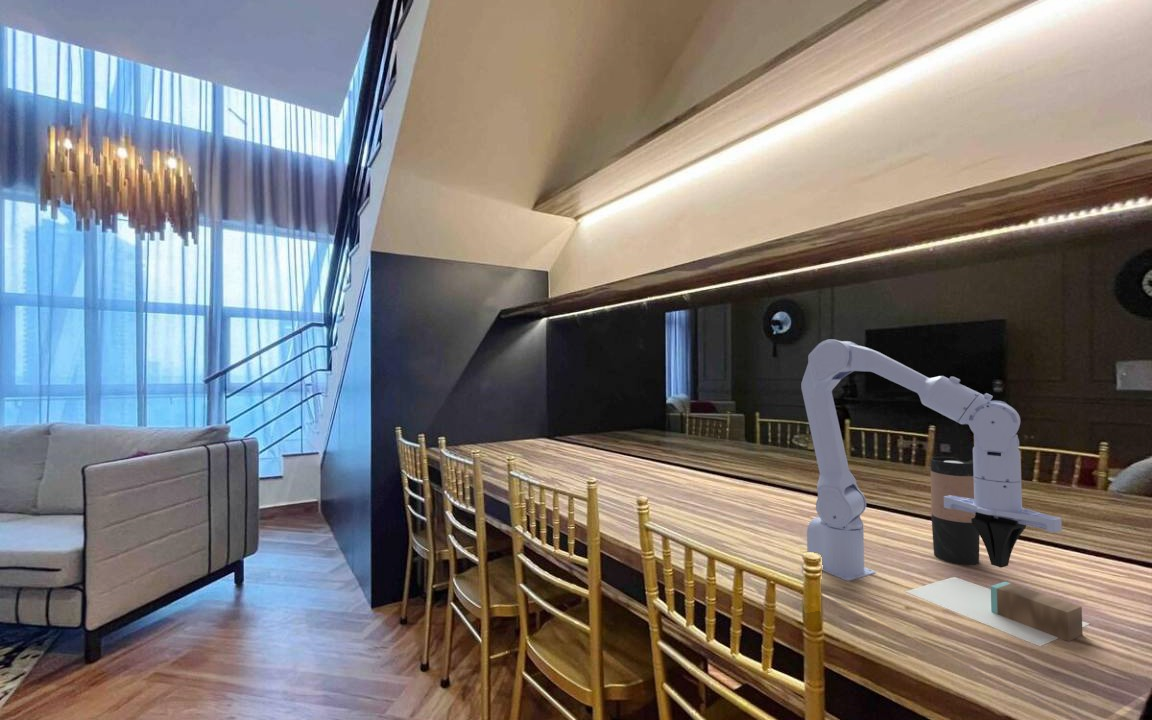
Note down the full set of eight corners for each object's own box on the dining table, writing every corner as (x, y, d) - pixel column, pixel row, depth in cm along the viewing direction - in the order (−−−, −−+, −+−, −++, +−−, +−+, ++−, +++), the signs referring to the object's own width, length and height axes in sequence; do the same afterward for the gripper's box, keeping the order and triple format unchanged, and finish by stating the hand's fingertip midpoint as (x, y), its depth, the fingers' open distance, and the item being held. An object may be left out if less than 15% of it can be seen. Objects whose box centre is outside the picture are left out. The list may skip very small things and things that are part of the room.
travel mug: (939, 564, 94) (936, 462, 95) (927, 551, 101) (924, 455, 102) (987, 570, 92) (984, 464, 92) (971, 555, 99) (969, 458, 99)
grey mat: (905, 593, 82) (904, 591, 82) (954, 578, 88) (954, 576, 88) (1040, 649, 66) (1040, 646, 66) (1089, 626, 71) (1089, 623, 71)
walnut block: (990, 586, 75) (1067, 612, 67) (1004, 581, 77) (1081, 606, 69) (991, 612, 75) (1068, 641, 67) (1005, 606, 77) (1082, 634, 69)
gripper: (931, 472, 81) (934, 553, 81) (1042, 491, 68) (1046, 588, 68) (956, 468, 84) (959, 546, 84) (1067, 486, 71) (1071, 579, 70)
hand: (999, 565), depth 76 cm, fingers closed
